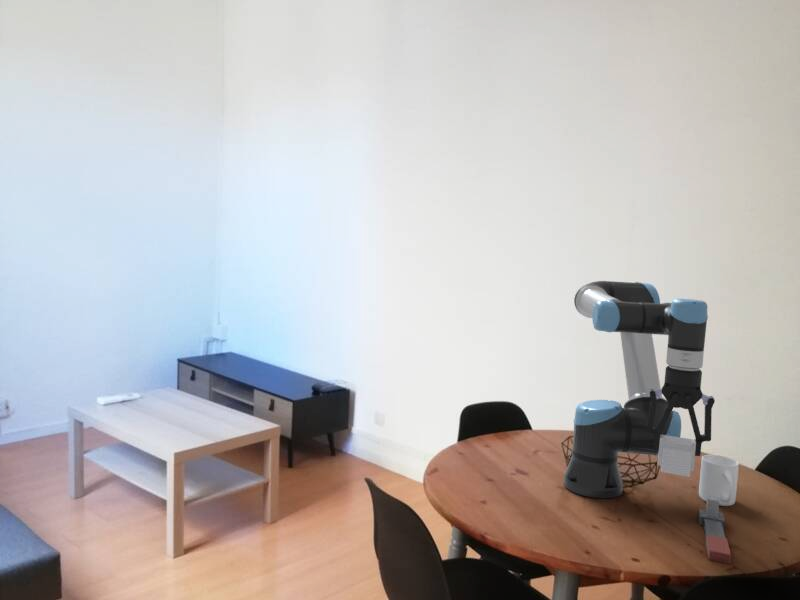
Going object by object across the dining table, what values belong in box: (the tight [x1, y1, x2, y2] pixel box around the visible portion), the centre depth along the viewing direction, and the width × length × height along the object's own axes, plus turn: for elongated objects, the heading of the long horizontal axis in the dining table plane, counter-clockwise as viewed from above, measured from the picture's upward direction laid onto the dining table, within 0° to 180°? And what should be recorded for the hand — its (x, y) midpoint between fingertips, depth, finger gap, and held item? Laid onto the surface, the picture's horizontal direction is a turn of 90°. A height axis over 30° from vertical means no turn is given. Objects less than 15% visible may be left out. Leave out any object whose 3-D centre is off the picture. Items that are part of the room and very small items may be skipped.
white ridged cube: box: [660, 435, 693, 478], centre depth 141 cm, size 6×6×7 cm
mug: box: [698, 454, 740, 507], centre depth 158 cm, size 9×12×11 cm
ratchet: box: [698, 496, 732, 565], centre depth 137 cm, size 23×5×6 cm, turn 157°
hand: (675, 465), depth 141 cm, fingers closed on white ridged cube, 6 cm apart
